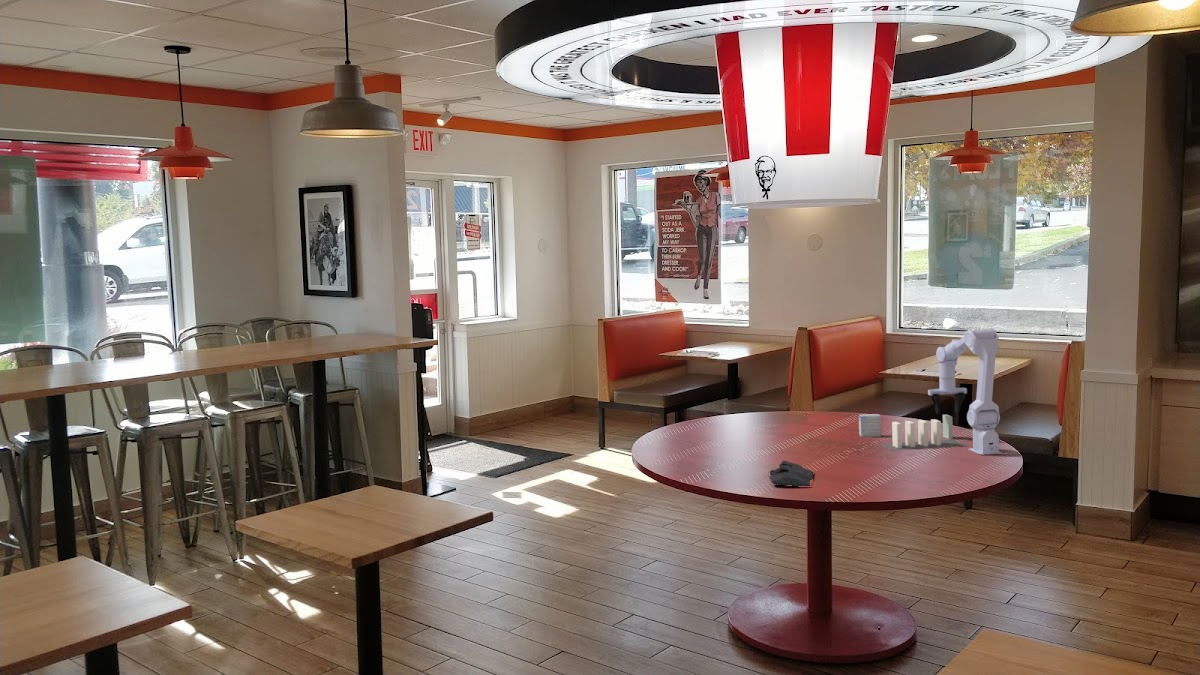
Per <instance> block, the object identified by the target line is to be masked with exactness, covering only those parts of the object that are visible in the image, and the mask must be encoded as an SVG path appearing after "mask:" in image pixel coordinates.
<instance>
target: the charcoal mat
mask: <svg viewBox="0 0 1200 675" xmlns="http://www.w3.org/2000/svg"><path fill="white" fill-rule="evenodd" d="M879 445H880V446H882V447H884V448H886V449H887V450H889V451H893V452H894V451H908V450H909V451H910V450H922V449H923V450H924V449H925V450H926V449H940V448H956V447H957V448H958V447H968V446H969V445H967V444H965V443H963V442H961V441H958V440H956V439H941V445H939V446H937V445H935V444H932V443H931V440H928V446H922V445H920V444H918V441H915V447H909V446H907V445H906V442H902V448H897V447H895V446H893V442H892V443H891V442H890V443H880V444H879Z"/></svg>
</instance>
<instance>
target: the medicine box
mask: <svg viewBox="0 0 1200 675" xmlns="http://www.w3.org/2000/svg"><path fill="white" fill-rule="evenodd" d="M881 417H882V416H881V414H878V413H871V414H867V413H865V414H859V415H858V433H859V437H860V436H861V437H864V438H876V437H882V418H881ZM861 437H860V438H861Z"/></svg>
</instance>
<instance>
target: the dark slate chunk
mask: <svg viewBox="0 0 1200 675" xmlns="http://www.w3.org/2000/svg"><path fill="white" fill-rule="evenodd" d="M778 467H779V468H776V469H771V470H769V471H770V475H771V476H769V480H770V481H771V483H772V484H773V485H774V484H778V485H792V486H810V483H809V482H810V480H812V479H813V473H814V474H815V471H813V470H810V469H807V468H805V467H803V466H802V465H800V464H798V463H794V462H790V461H787V460H782V461H781V463H780V464H779V466H778Z"/></svg>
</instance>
